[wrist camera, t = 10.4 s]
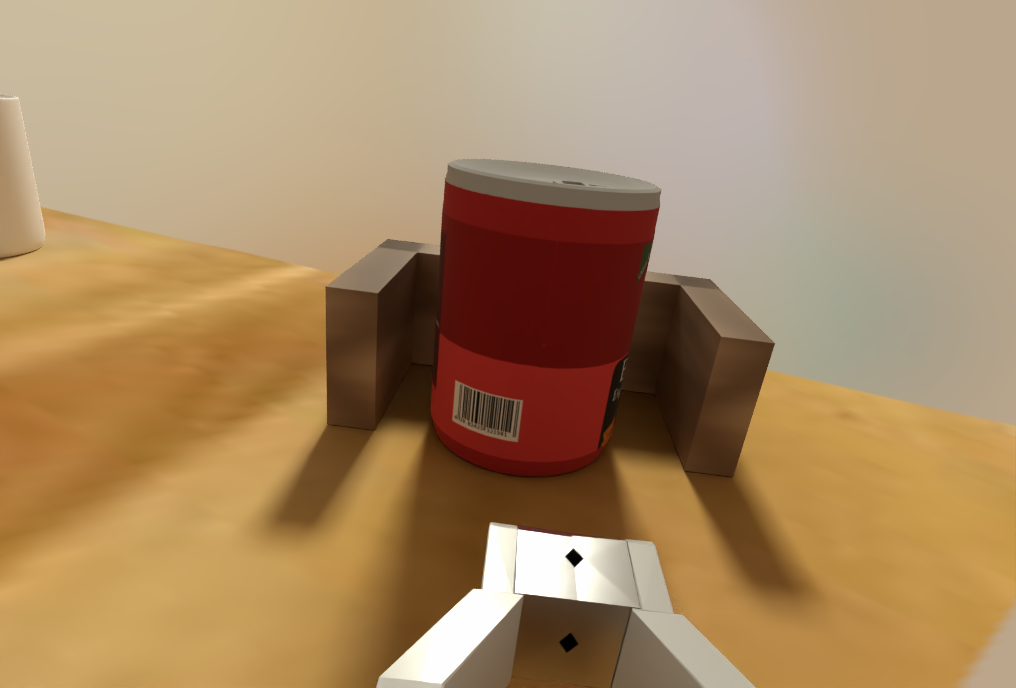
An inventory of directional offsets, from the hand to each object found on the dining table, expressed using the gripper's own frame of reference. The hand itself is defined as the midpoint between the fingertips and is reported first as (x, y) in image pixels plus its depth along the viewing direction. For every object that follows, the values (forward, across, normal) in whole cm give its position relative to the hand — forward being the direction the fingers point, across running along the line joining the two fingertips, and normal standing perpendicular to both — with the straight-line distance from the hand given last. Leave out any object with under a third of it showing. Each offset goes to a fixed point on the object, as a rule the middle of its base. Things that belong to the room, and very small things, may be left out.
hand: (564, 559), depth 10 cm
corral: (+16, 0, -5) cm, 17 cm away
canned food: (+14, -1, -6) cm, 15 cm away
